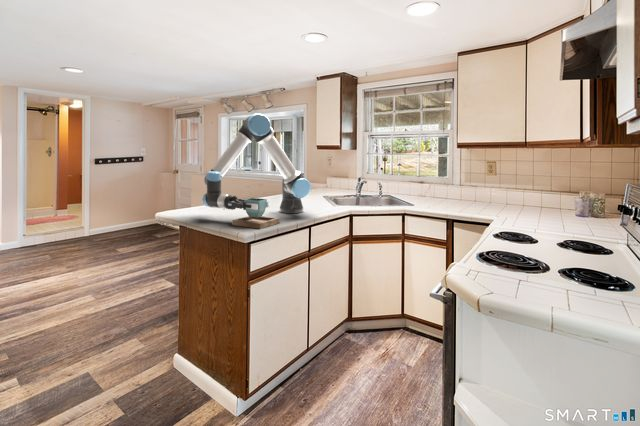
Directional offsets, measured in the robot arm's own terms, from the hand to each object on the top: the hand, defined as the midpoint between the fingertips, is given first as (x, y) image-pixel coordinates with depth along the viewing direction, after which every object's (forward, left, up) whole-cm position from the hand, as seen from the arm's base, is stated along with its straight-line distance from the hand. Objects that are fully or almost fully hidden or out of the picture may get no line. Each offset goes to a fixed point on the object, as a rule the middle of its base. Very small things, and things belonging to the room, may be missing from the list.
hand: (263, 205), depth 177 cm
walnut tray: (0, -4, -10) cm, 11 cm away
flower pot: (0, -5, -6) cm, 8 cm away
